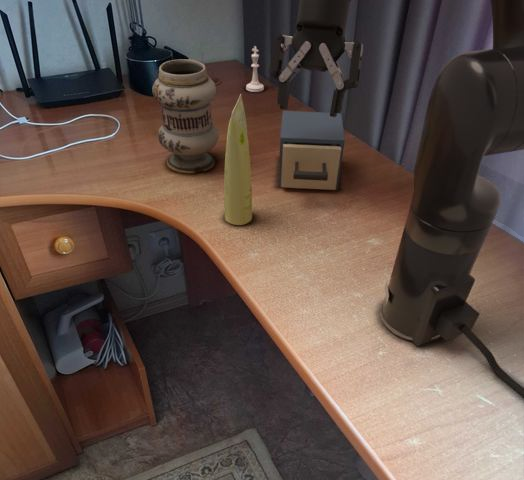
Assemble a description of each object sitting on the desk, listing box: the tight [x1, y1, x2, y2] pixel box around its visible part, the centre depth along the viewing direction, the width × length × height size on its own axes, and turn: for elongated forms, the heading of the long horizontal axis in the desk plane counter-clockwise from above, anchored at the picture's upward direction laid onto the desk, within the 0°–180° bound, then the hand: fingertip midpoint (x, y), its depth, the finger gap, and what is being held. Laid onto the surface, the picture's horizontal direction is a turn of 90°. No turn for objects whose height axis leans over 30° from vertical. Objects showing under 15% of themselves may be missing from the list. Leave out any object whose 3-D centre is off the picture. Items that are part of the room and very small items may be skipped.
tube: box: [223, 93, 253, 226], centre depth 76 cm, size 6×5×20 cm
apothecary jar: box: [151, 58, 220, 175], centre depth 91 cm, size 12×12×18 cm
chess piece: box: [245, 45, 265, 93], centre depth 124 cm, size 5×5×10 cm
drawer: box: [280, 142, 341, 191], centre depth 89 cm, size 17×10×8 cm, turn 176°
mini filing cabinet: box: [277, 110, 346, 191], centre depth 92 cm, size 13×12×10 cm
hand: (308, 112), depth 77 cm, fingers open, 8 cm apart
